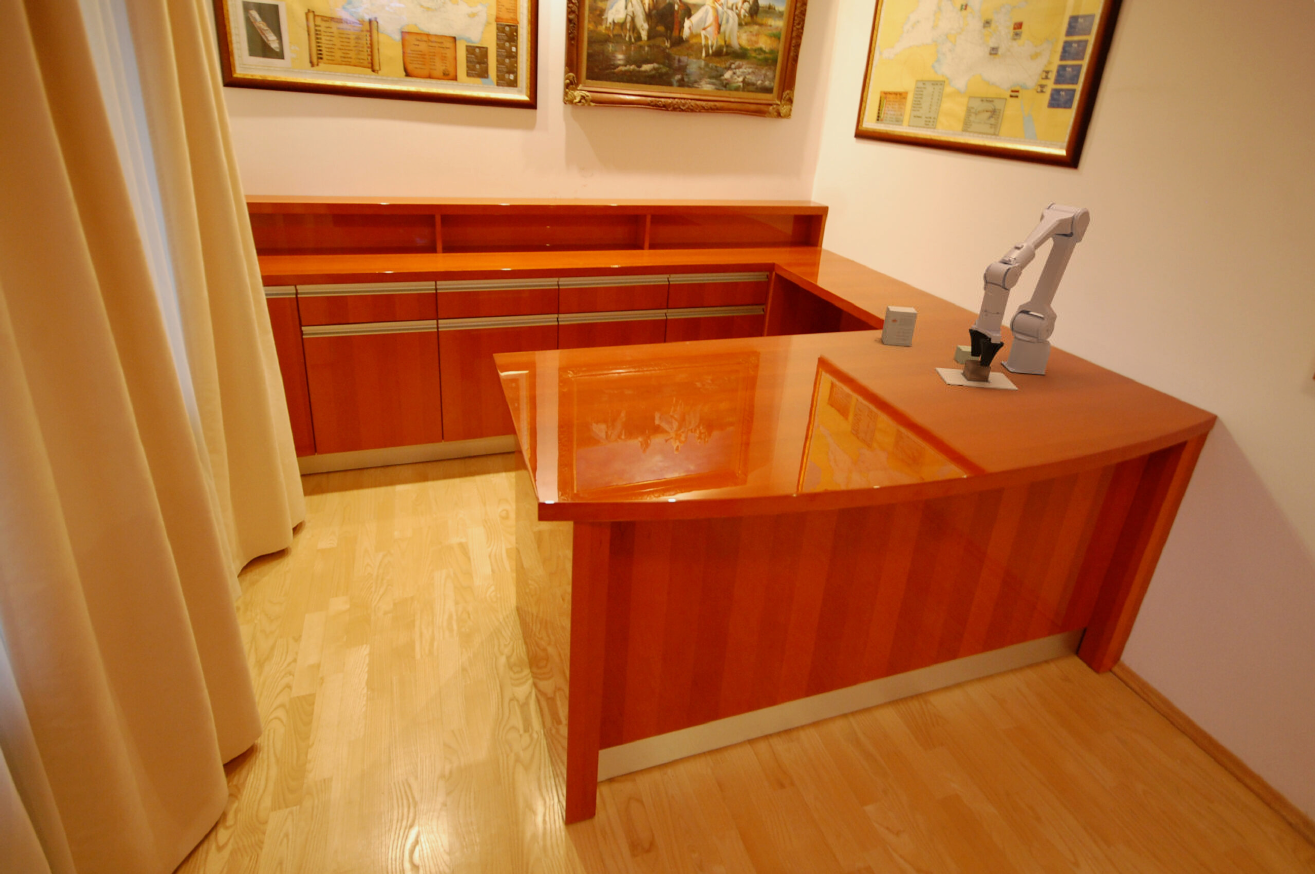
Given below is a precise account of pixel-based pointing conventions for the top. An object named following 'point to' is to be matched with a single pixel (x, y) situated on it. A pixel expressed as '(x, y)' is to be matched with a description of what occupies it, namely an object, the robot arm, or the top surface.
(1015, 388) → the board
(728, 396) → the top surface
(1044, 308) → the robot arm
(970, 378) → the walnut block
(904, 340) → the small box
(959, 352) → the sage block
